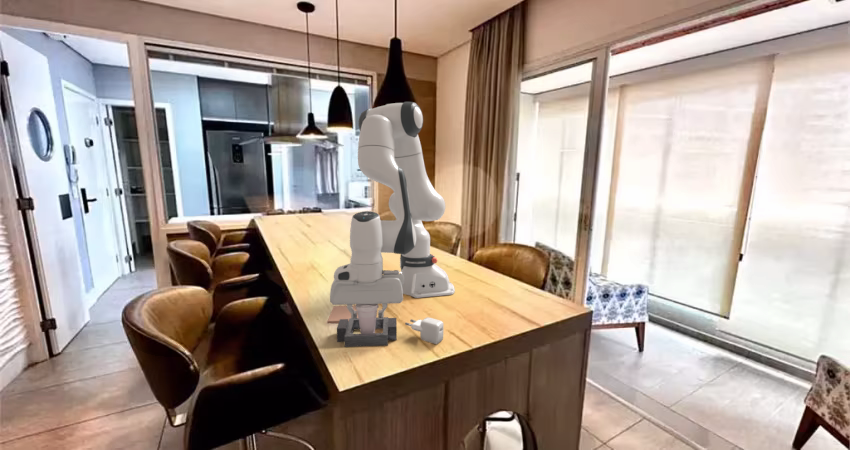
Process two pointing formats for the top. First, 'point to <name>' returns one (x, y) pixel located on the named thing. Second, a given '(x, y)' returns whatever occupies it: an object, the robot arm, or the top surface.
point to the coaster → (340, 314)
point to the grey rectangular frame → (366, 339)
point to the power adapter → (428, 329)
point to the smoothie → (367, 317)
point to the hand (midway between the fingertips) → (367, 317)
